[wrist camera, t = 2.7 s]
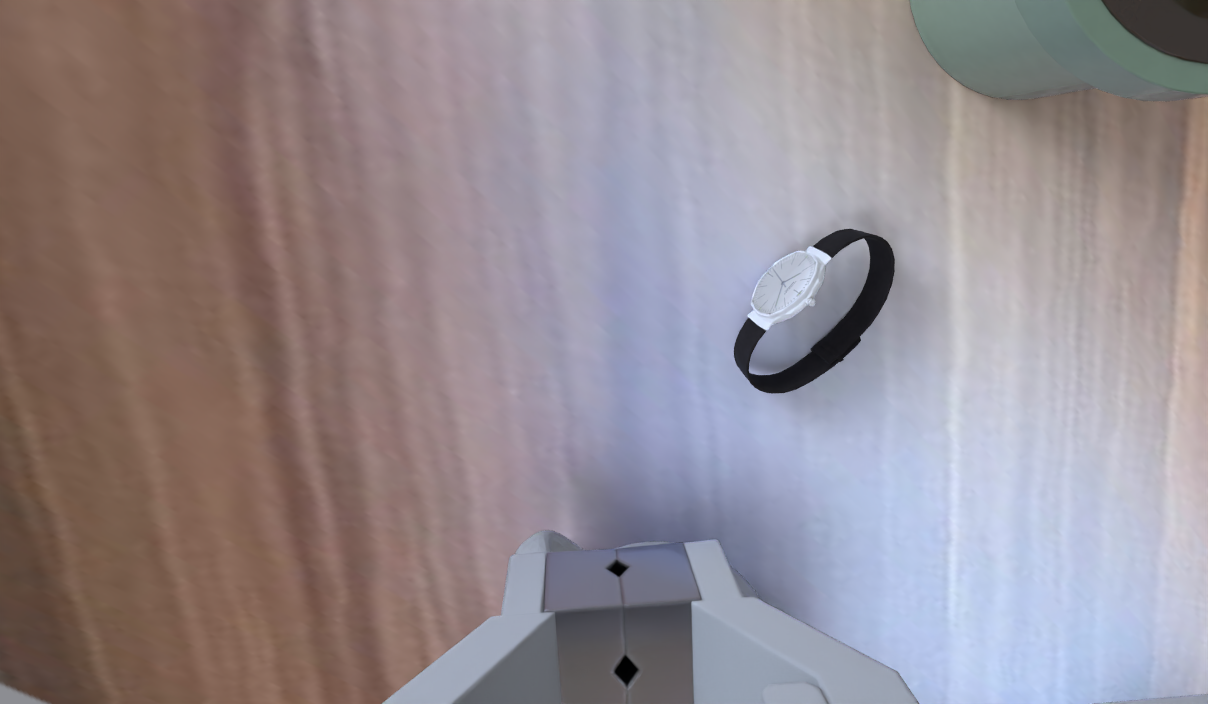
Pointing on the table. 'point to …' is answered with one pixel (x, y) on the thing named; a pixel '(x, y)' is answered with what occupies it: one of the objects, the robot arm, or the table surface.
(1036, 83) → the plant pot
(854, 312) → the watch
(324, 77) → the table surface
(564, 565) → the robot arm
